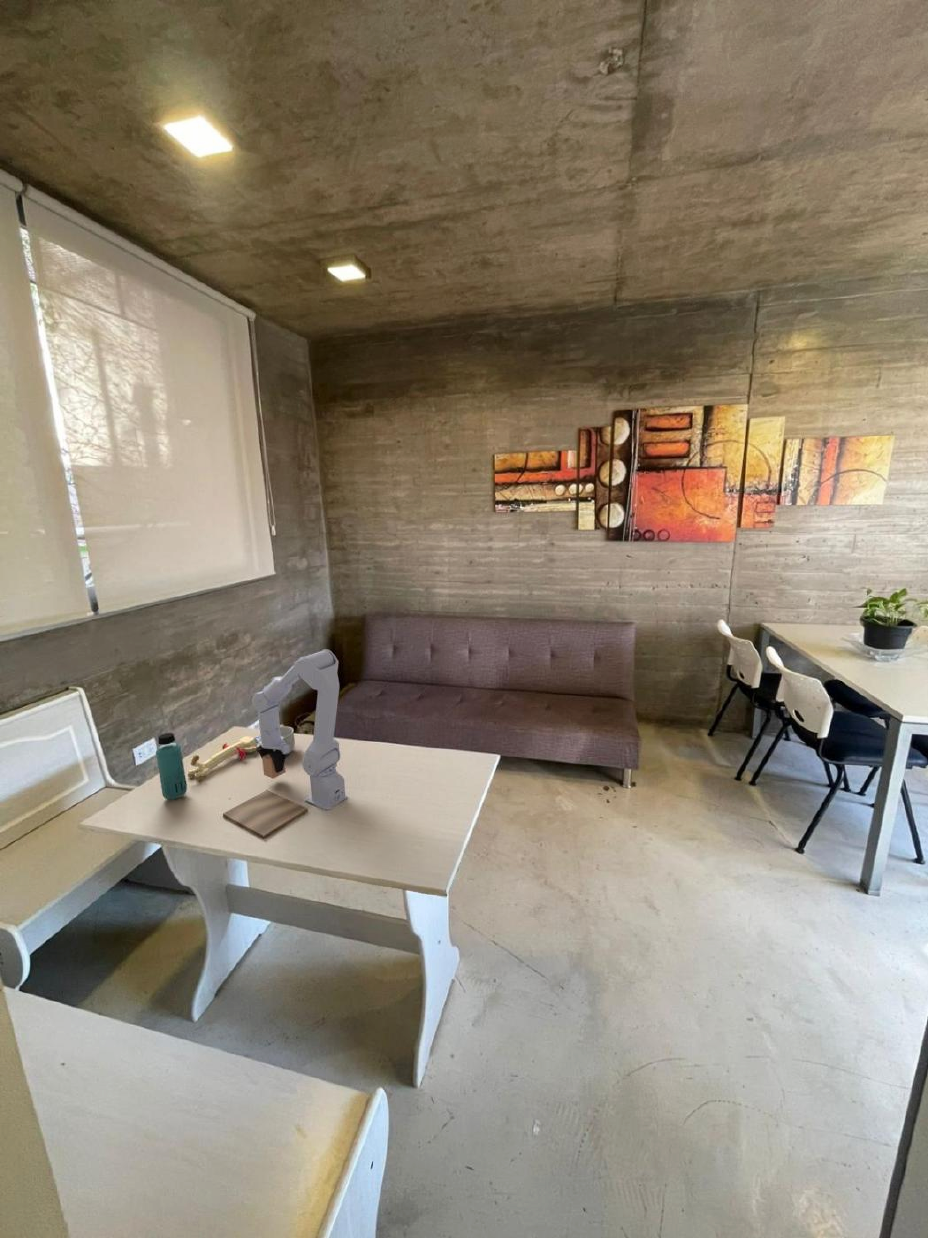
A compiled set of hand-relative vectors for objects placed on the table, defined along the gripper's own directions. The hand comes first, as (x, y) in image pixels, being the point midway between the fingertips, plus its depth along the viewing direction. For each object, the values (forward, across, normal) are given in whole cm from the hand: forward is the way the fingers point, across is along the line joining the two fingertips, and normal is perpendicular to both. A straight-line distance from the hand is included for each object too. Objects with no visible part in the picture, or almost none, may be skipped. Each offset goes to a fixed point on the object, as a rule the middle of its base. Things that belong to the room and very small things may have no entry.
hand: (274, 769), depth 151 cm
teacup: (+5, +16, -14) cm, 22 cm away
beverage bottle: (+5, +18, +21) cm, 28 cm away
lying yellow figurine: (+5, +25, 0) cm, 26 cm away
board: (+5, -12, +12) cm, 18 cm away
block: (+2, 0, 0) cm, 2 cm away
